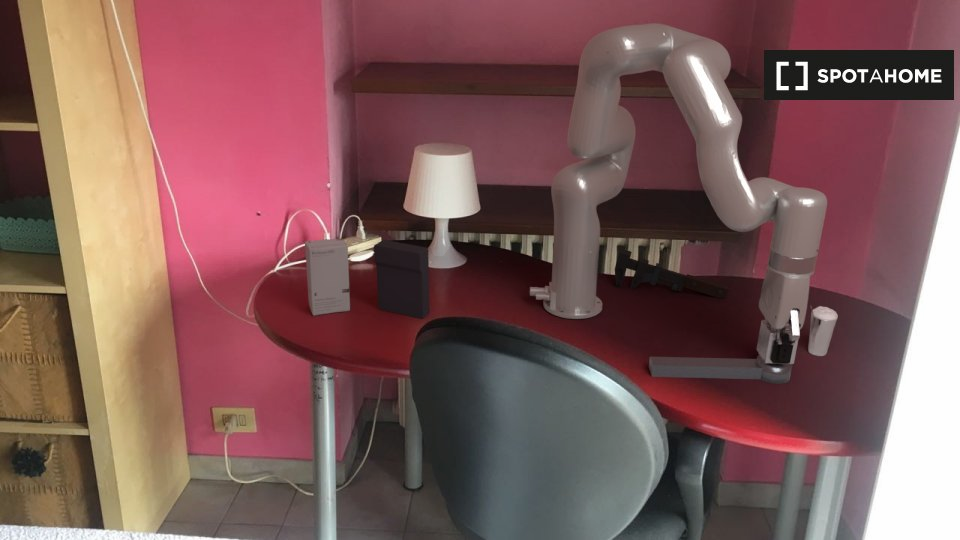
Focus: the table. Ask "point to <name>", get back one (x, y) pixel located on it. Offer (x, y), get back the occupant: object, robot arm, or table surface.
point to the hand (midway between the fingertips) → (775, 353)
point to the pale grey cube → (771, 342)
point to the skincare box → (327, 276)
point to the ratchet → (720, 368)
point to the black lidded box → (402, 278)
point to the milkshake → (821, 330)
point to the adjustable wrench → (663, 276)
